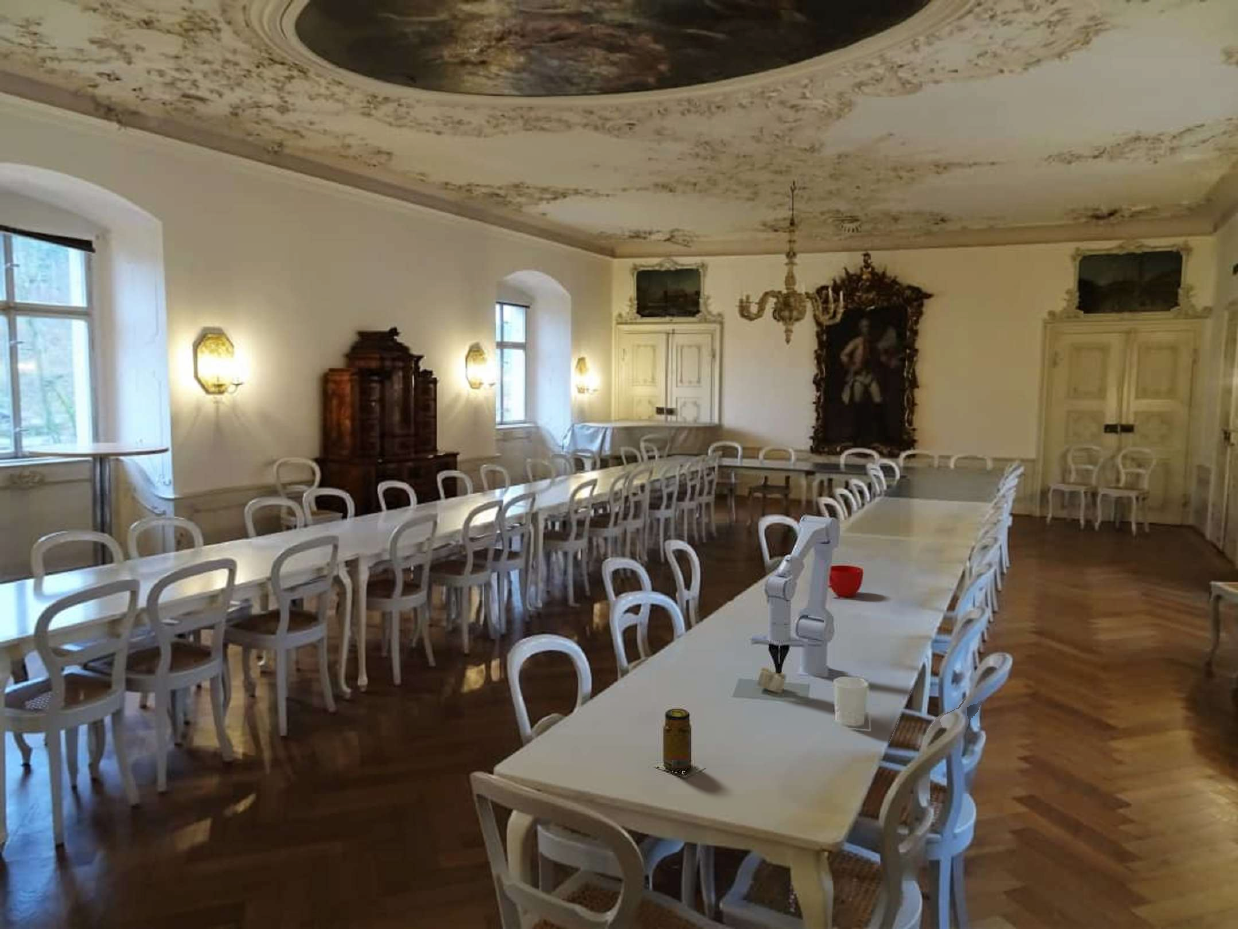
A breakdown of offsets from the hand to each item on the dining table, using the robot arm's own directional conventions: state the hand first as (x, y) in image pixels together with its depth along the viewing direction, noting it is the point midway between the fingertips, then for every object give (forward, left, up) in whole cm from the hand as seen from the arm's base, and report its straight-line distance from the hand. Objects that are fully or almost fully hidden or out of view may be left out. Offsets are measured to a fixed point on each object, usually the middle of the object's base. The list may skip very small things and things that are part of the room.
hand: (778, 672), depth 232 cm
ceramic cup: (-108, +14, -6) cm, 109 cm away
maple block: (0, +1, -3) cm, 3 cm away
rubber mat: (0, -2, -5) cm, 6 cm away
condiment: (+50, -17, -6) cm, 53 cm away
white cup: (+16, +18, -6) cm, 25 cm away
